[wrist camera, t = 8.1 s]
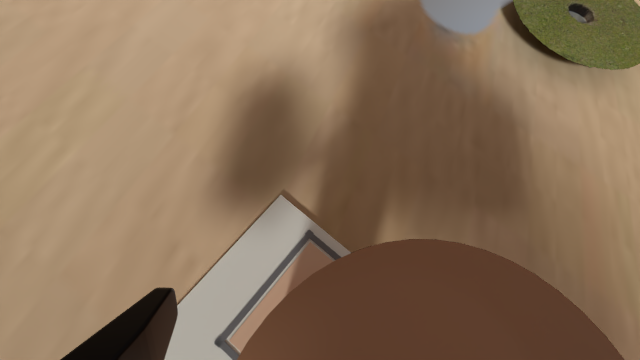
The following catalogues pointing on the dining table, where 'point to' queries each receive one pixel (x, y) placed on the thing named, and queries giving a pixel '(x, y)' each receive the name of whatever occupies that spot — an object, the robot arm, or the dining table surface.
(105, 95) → the dining table surface
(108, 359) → the robot arm
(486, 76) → the dining table surface
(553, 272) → the dining table surface
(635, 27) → the green disc
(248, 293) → the colouring sheet
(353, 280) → the brown tall rounded cylinder
